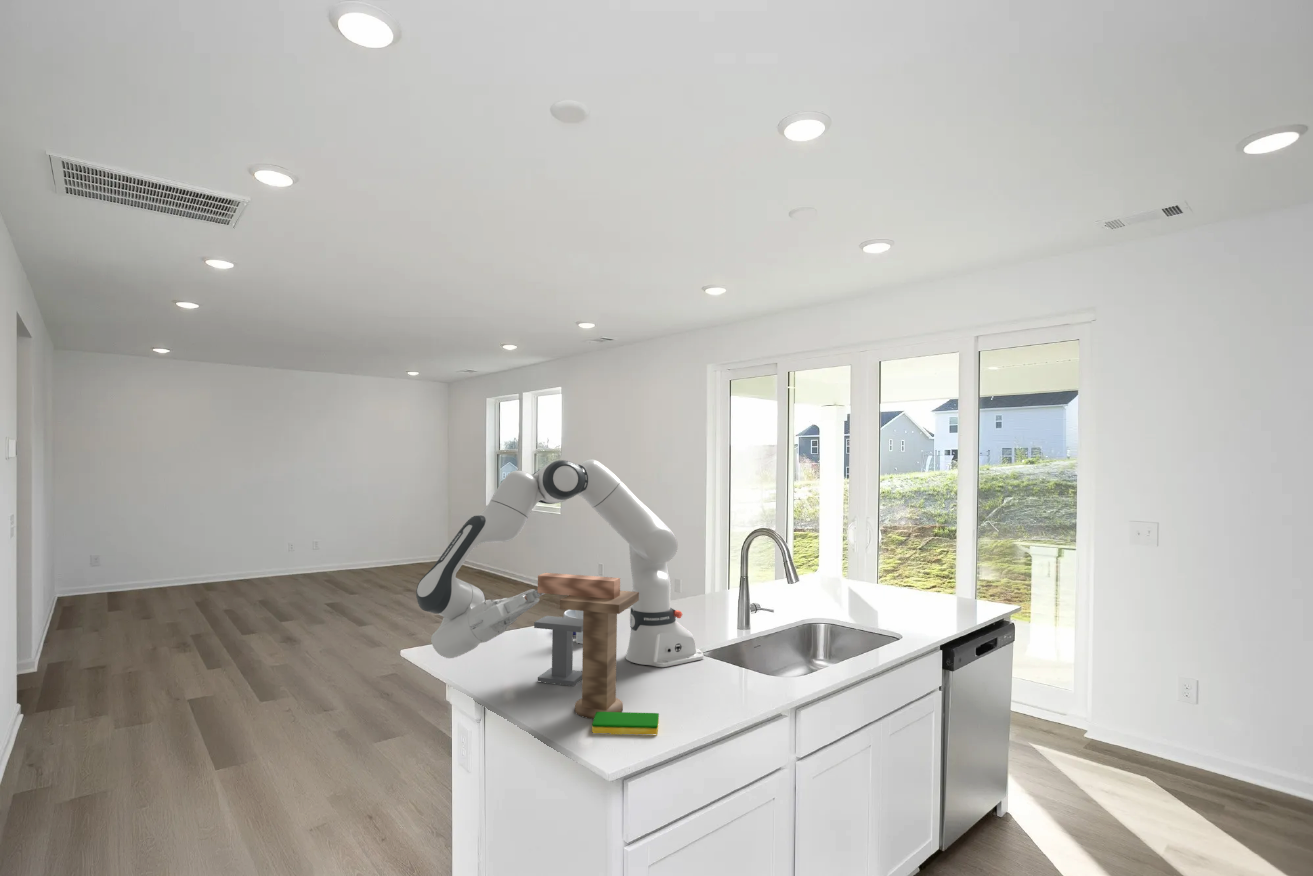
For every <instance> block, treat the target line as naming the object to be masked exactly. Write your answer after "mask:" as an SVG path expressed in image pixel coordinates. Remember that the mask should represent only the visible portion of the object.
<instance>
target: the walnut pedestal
mask: <svg viewBox="0 0 1313 876" xmlns="http://www.w3.org/2000/svg"><path fill="white" fill-rule="evenodd" d="M637 601H639V592H632V591H631V590H630V591H629V590H620V596H618V597H616V598H615V599H608V598H596V597H584V596H571V595H566V596H565V597H563V598H560V599H559V609H560V610H566V611H567V610H579V611H583V644H582V664H581V665H582V670H581V671H582V680H581V698H579V699H578V700H576V702H575V703H574V712H575V714H576V713H577V714H576V715H578V716H579V715H580V717H582V716H583V718H585V717H587V718H586V719H590V718H592V719H591V720H594V717H595V714H596V712H624V710H623V709H624V703H623V701H622V700H621V699H619V698H618V697H616V696H617V650H618V649H617V645H618V644H617V642H618V641H617V639H618V638H617V637H618V636H617V633H618V629H617V628H618V615H619V614H621V613H623V612H624V611H626V610H627V609H628V608H631V607H632V605H633V604H634V603H636V602H637Z"/></svg>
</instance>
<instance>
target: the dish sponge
mask: <svg viewBox="0 0 1313 876" xmlns="http://www.w3.org/2000/svg"><path fill="white" fill-rule="evenodd" d="M659 715H660V714H659V713H658V712H631V711H630V712H628V711H627V712H624V711H622V712H596V714H595V717H594V719H592V720H593V721H592V723H591V733H592V732H593V733H611V734H610V735H622V734H659V725H658V724H659V723H660V719H659V717H660V716H659ZM593 733H592V734H593Z"/></svg>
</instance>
